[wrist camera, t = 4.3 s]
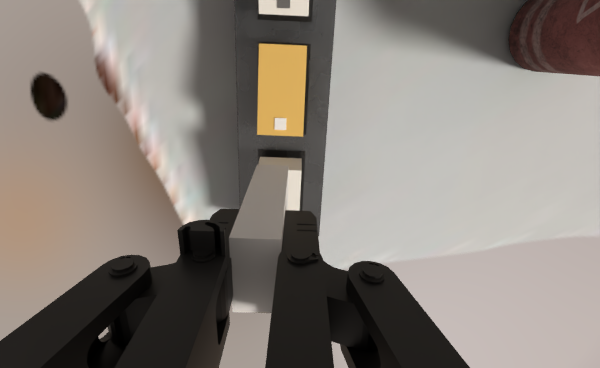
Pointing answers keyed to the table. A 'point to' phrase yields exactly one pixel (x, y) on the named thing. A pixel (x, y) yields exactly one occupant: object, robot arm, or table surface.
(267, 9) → the rocker
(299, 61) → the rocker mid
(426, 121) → the table surface
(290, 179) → the rocker
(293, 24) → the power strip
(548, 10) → the can
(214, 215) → the robot arm
